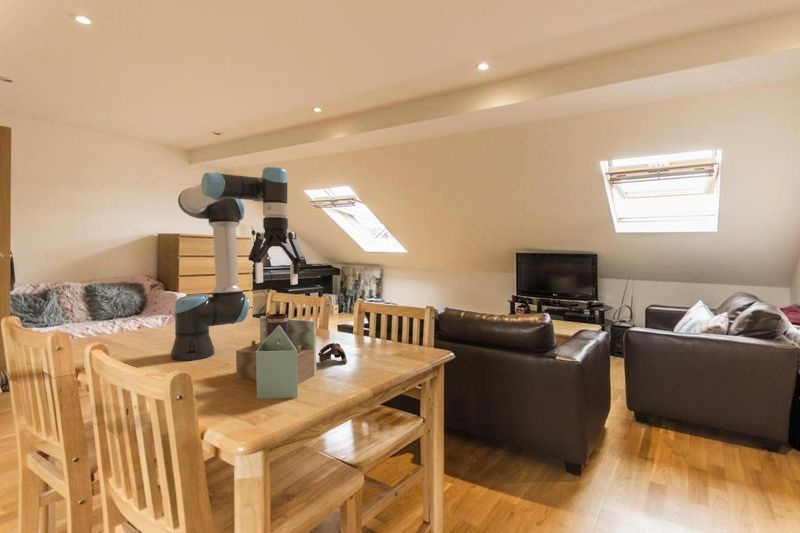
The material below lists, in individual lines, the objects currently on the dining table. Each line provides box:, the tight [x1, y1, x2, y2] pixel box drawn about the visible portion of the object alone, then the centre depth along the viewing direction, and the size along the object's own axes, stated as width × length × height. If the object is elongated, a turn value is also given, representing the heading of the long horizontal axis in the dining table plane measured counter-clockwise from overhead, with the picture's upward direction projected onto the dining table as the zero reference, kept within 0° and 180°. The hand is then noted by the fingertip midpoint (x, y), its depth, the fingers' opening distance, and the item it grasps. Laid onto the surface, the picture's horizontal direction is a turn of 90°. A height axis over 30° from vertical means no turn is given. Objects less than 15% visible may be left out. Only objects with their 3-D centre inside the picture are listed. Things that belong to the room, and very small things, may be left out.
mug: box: [265, 311, 289, 344], centre depth 135 cm, size 10×7×12 cm
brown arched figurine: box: [317, 342, 348, 365], centre depth 153 cm, size 12×10×8 cm
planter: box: [256, 325, 299, 400], centre depth 120 cm, size 16×8×20 cm, turn 52°
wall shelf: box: [235, 315, 317, 385], centre depth 137 cm, size 22×13×18 cm, turn 68°
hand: (276, 283), depth 134 cm, fingers open, 13 cm apart
